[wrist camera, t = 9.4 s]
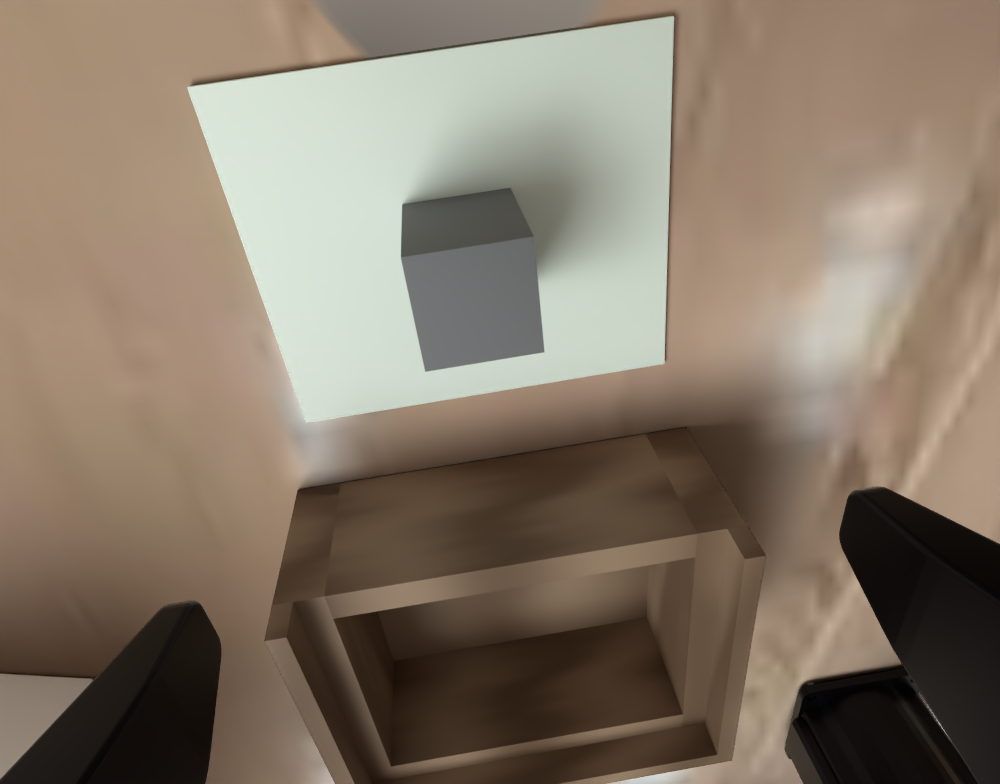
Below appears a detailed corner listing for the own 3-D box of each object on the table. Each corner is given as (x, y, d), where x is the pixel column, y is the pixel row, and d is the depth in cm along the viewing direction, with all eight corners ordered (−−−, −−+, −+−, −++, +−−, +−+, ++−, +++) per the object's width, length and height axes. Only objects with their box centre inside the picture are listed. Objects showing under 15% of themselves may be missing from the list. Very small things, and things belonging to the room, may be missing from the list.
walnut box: (686, 427, 23) (766, 555, 18) (674, 621, 29) (731, 760, 24) (297, 490, 23) (263, 641, 17) (367, 675, 29) (357, 828, 23)
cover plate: (663, 14, 17) (744, 26, 13) (656, 352, 22) (711, 434, 18) (196, 82, 16) (126, 117, 12) (309, 409, 22) (286, 507, 18)
